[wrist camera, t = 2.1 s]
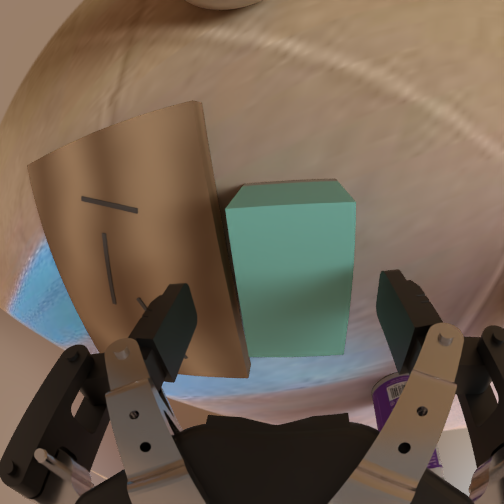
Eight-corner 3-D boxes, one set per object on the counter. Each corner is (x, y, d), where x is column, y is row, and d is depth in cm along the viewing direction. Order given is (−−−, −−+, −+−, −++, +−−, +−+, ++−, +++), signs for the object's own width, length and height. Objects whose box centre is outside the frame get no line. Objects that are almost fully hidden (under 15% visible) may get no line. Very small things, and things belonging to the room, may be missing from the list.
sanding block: (334, 178, 14) (355, 202, 10) (333, 300, 17) (343, 354, 13) (244, 183, 15) (224, 209, 10) (258, 302, 18) (248, 356, 14)
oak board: (201, 102, 13) (192, 100, 12) (251, 364, 21) (248, 379, 19) (40, 161, 15) (26, 165, 14) (112, 353, 23) (105, 363, 22)
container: (361, 395, 22) (374, 541, 8) (394, 366, 20) (427, 527, 6) (394, 403, 22) (413, 531, 9) (425, 376, 20) (461, 512, 6)
